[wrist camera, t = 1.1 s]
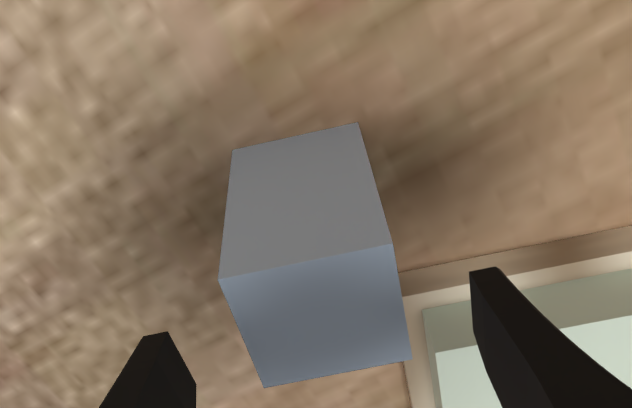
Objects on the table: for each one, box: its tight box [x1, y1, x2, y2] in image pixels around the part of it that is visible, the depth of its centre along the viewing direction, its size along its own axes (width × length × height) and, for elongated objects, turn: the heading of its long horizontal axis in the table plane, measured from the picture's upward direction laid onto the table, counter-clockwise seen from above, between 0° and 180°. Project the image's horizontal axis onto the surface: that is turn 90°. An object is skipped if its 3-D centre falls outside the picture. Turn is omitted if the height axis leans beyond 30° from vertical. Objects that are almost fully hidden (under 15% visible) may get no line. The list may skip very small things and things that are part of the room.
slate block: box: [218, 122, 413, 388], centre depth 16 cm, size 4×4×6 cm
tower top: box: [422, 268, 632, 408], centre depth 22 cm, size 9×9×2 cm
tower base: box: [398, 225, 632, 408], centre depth 23 cm, size 11×11×2 cm
